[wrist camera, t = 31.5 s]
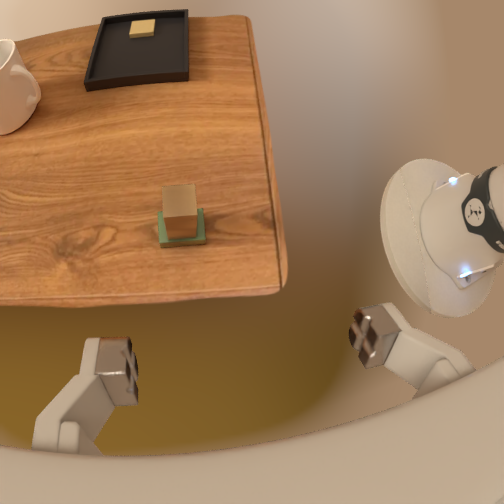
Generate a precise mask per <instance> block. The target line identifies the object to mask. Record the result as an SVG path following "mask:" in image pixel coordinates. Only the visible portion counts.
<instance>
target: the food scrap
mask: <svg viewBox="0 0 504 504" xmlns="http://www.w3.org/2000/svg"><path fill="white" fill-rule="evenodd" d="M154 29H155V19H152V20H141V21H132V24H131V29H130V33H129V36H130V38H137V37H148V36H154Z"/></svg>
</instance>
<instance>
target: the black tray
mask: <svg viewBox="0 0 504 504" xmlns="http://www.w3.org/2000/svg"><path fill="white" fill-rule="evenodd" d="M152 19H155V29H154V36H148V37H137V38H130V36H129V33H130V29H131V24H132V21H141V20H152ZM188 73H189V67H188V9H185V10H184V9H183V10H163V11H150V12H139V13H132V14H131V13H130V14H123V15H115V16H109V17H103V18H102V21H101V24H100V27H99V30H98V33H97V36H96V39H95V43H94V46H93V49H92V53H91V56H90V60H89V64H88V68H87V72H86V76H85V80H84V85H85V88H86V91H92V90H99V89H106V88H113V87H121V86H130V85H139V84H150V83H163V82H179V81H188Z"/></svg>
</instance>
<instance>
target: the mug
mask: <svg viewBox="0 0 504 504" xmlns="http://www.w3.org/2000/svg"><path fill="white" fill-rule="evenodd" d="M40 99H41V90H40V87H39V85H38V83H37V81H36V80H35V78H34V77H33V75H32V74H31V73H30V72H29V71H27V70H26V68H25V65H24V63H23V61H22V59H21V57H20V54H19V52H18V50H17V48H16V45H15V43H14V42H13V41H12V40H10V39H2V40H0V135H4V134H8V133H10V132H13V131H15V130H16V129H18V128H19V127H21V126H22V125H23V124H24V123H25V122H26V121H27V120H28V119H29V118H30V116H31V115H32V113H33V112H34V110H35V108H36V105H37V103H38V102H39V101H40Z"/></svg>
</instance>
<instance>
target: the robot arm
mask: <svg viewBox="0 0 504 504" xmlns="http://www.w3.org/2000/svg"><path fill="white" fill-rule="evenodd" d="M449 181H450V182H446V181H443V180H436V181H434V182H433V185H432V190H431V194H430V195H429V197H428V198H427V199H426V200H425V202H424V204H423V206H422V209H421V214H420V228H421V234H422V238H423V242H424V245H425V247H426V250H427V252H428V254H429V255H430V257H431V259H432V260H433V262H434V263H435V264H436V265H437V266H438V267H439V268H440V269H441V270H442V271H443V272H445V273H446V274H448V275H449V276H450V277H451V279H452V280H453V282H454V283H455V285H456V286H457V287H458V288H459V289H464V288H466V287H468V286H470V285H471V284H473V283H474V282H476V281H478V280H479V279H481V278H482V277H484V276H485V275H487V274H488V273H490V272H491V271H493V270H494V269H496V268H497V267H499V266H500V265H502V263H503V259H504V164H502V165H500V166H499V167H492V168H490V169H487V170H485V171H483V172H482V173H481V174H480V175H478V176H475V175H473V174H470V173H465V174H463V175H461V176H459V177H457V178H454V177H452V178H450V179H449ZM353 317H354V319H355V321H354V322H353V323H352V324H351V326H350V329H349V339H350V342H351V345H352V347H353V348H354V349H356V350H357V351H359V359H360V360H361V362H362V364H363V365H364V367H365V369H369V368H373V367H377V366H380V365H384V366H385V367H387V368H388V369H389V370H391V371H392V372H393V373H395V374H396V375H398V376H399V377H401V378H402V379H403V380H405V381H406V382H408V383H409V384H410V385H412V386H413V387H415V388H416V389H418V391H417V393H416V394H415V395H414V397H413V399H412V400H411V401H408V402H406V403H403V404H400V405H398V406H395V407H392V408H389V409H387V410H384V411H381V412H378V413H375V414H372V415H369V416H366V417H363V418H360V419H357V420H353V421H350V422H347V423H343V424H340V425H337V426H333V427H329V428H326V429H322V430H318V431H314V432H310V433H306V434H302V435H298V436H294V437H289V438H284V439H279V440H275V441H270V442H264V443H259V444H253V445H247V446H241V447H234V448H227V449H220V450H212V451H204V452H194V453H183V454H169V455H150V456H149V455H147V456H103V454H102V453H101V452H100V451H99V449H98V448H97V447H96V446H95V444H94V443H93V442H94V440H95V438H96V437H97V435H98V433H99V432H100V430H101V429H102V427H103V426H104V424H105V423H106V421H107V419H108V418H109V416H110V415H111V413H112V411H113V410H114V408H115V407H114V406H128V405H138V388H137V385H136V381H137V380H138V365H137V360H136V356H135V353H134V352H133V351H132V343H131V340H130V338H129V337H101V338H87V340H86V341H85V346H84V351H83V357H82V362H81V368H80V374H79V375H75V376H74V377H73V378H72V379H71V380H70V381H69V383H68V384H67V385H66V386H65V387H64V388H63V389H62V390H61V391H60V392H59V394H58V395H57V396H56V397H55V398H54V399H53V400H52V401H51V402H50V403H49V405H48V406H47V407H46V408H45V409H44V410H43V411H42V412H41V413H40V415H39V416H38V417H37V418H36V424H35V430H34V436H33V442H32V449H31V450H29V449H22V448H16V447H10V446H4V445H0V504H504V356H503V357H501V358H499V359H497V360H495V361H494V362H492V363H490V364H488V365H486V366H485V367H482V368H481V369H479V370H477V371H476V369H475V368H474V367H473V365H472V364H471V363H470V362H469V360H468V359H467V358H466V356H465V355H464V354H463V352H461V350H459V349H457V348H455V347H453V346H451V345H449V344H447V343H445V342H443V341H441V340H439V339H437V338H435V337H433V336H431V335H429V334H427V333H425V332H423V331H421V330H419V329H417V328H412V327H411V326H410V324H409V323H408V322H407V321H406V319H405V318H404V317H403V315H402V314H401V313H400V312H399V311H398V309H397V308H396V307H395V305H394V304H393V303H391V302H388V303H384V304H379V305H374V306H369V307H364V308H358V309H357V310H356V311H355V313H354V316H353Z"/></svg>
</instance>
